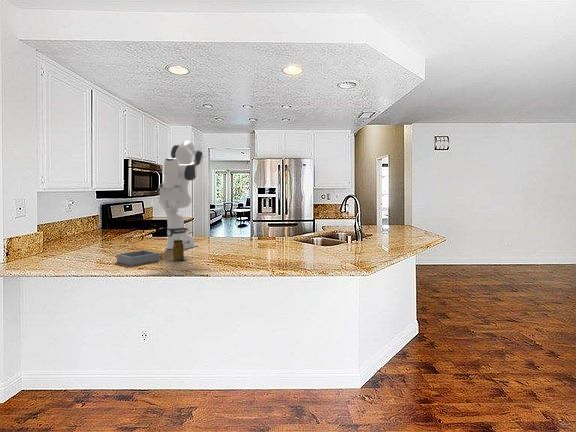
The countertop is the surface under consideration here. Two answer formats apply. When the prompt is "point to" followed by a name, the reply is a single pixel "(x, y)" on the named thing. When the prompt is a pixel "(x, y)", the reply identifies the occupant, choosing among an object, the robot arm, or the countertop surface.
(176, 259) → the condiment
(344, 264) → the countertop surface
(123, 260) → the bin
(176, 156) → the robot arm
